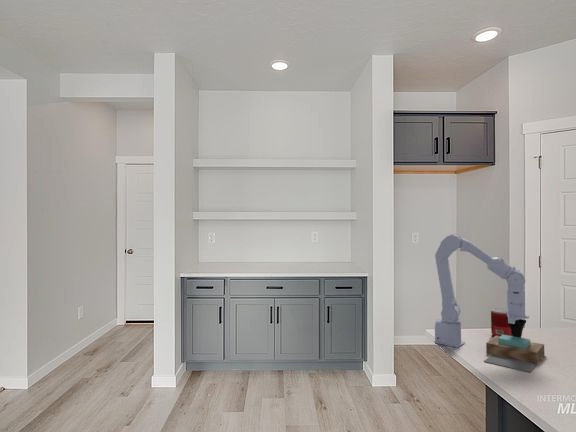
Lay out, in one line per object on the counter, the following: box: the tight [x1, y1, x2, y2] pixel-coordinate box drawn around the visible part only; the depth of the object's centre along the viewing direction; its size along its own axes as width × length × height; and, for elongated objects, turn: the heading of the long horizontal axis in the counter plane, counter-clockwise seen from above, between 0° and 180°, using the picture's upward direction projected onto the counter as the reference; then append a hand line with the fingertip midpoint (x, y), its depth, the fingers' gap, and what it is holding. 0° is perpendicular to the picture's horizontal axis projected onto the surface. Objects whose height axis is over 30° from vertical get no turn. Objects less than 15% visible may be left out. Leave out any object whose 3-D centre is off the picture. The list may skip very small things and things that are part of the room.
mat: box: [483, 354, 538, 374], centre depth 130 cm, size 14×9×1 cm, turn 45°
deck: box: [485, 336, 545, 365], centre depth 139 cm, size 16×12×4 cm
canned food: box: [490, 308, 512, 338], centre depth 161 cm, size 8×8×11 cm
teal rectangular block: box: [498, 335, 531, 349], centre depth 138 cm, size 9×6×2 cm, turn 46°
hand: (517, 339), depth 141 cm, fingers closed
